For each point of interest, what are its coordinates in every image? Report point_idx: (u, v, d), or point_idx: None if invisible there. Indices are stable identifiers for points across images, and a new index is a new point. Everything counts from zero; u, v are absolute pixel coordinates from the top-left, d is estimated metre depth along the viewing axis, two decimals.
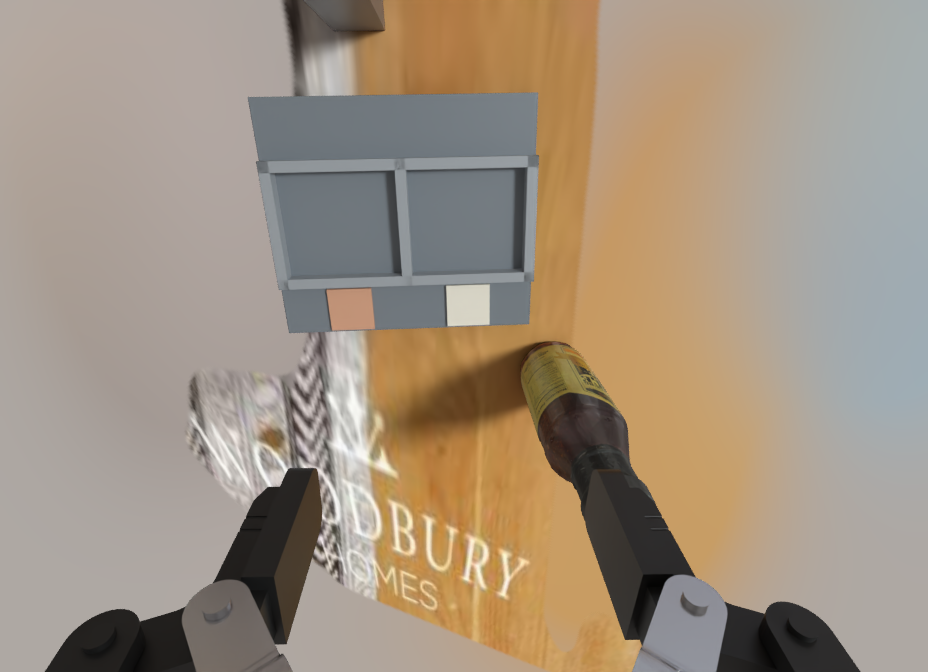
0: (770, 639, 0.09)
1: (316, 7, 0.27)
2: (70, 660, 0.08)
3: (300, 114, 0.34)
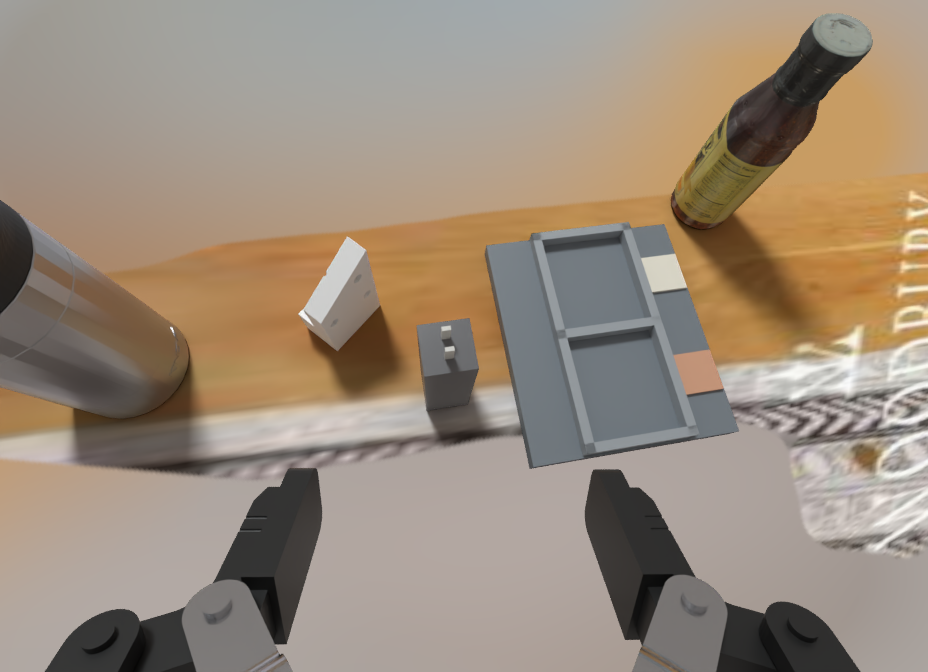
0: (770, 639, 0.09)
1: None
2: (70, 660, 0.08)
3: (537, 421, 0.40)
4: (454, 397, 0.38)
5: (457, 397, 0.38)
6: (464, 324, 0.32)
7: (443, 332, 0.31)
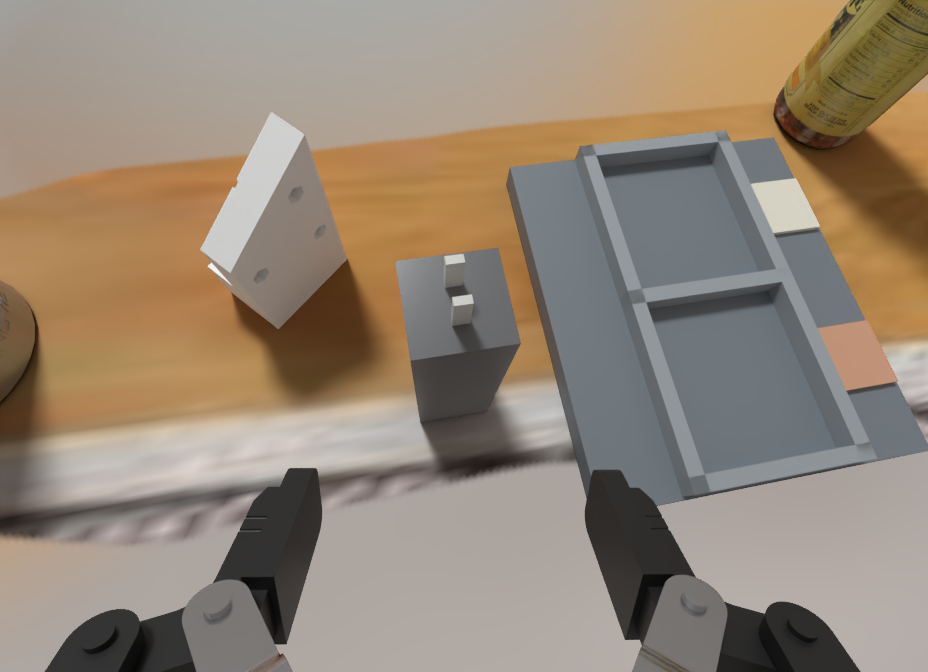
0: (770, 639, 0.09)
1: None
2: (70, 660, 0.08)
3: (604, 439, 0.24)
4: (466, 401, 0.22)
5: (471, 400, 0.23)
6: (489, 259, 0.17)
7: (449, 267, 0.15)
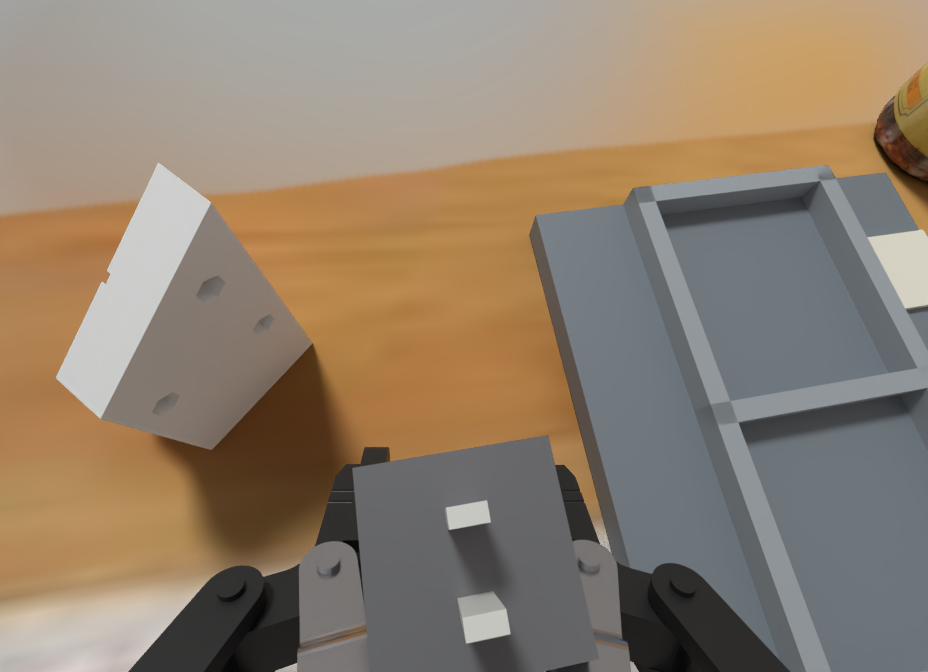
0: (660, 605, 0.10)
1: None
2: (207, 601, 0.09)
3: None
4: None
5: None
6: (531, 460, 0.09)
7: None
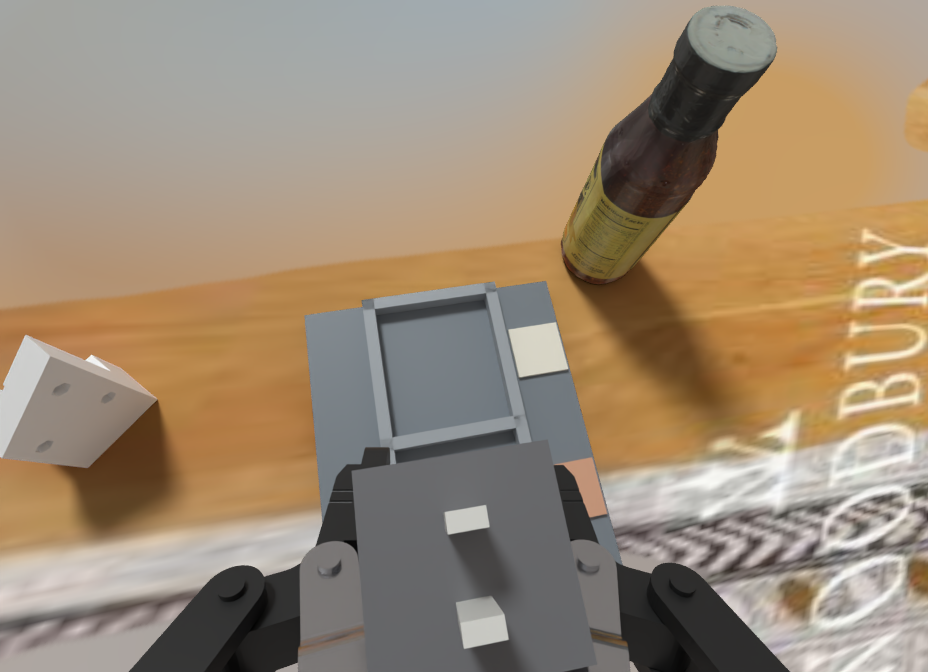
0: (659, 605, 0.10)
1: None
2: (207, 601, 0.09)
3: None
4: None
5: None
6: (531, 465, 0.09)
7: (455, 532, 0.07)
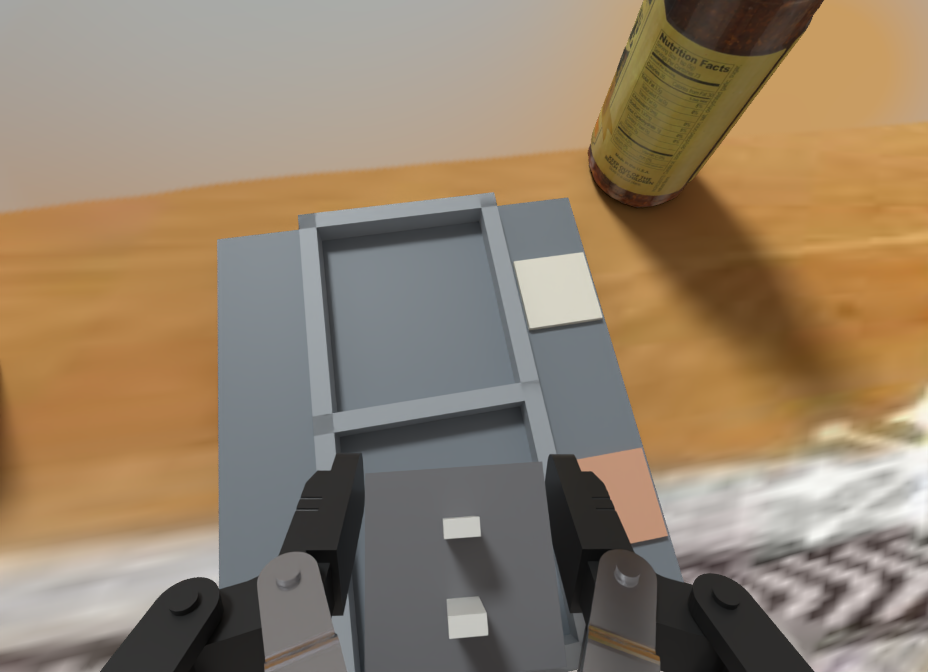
0: (700, 613, 0.10)
1: None
2: (159, 618, 0.09)
3: None
4: None
5: None
6: (524, 483, 0.10)
7: (451, 538, 0.08)
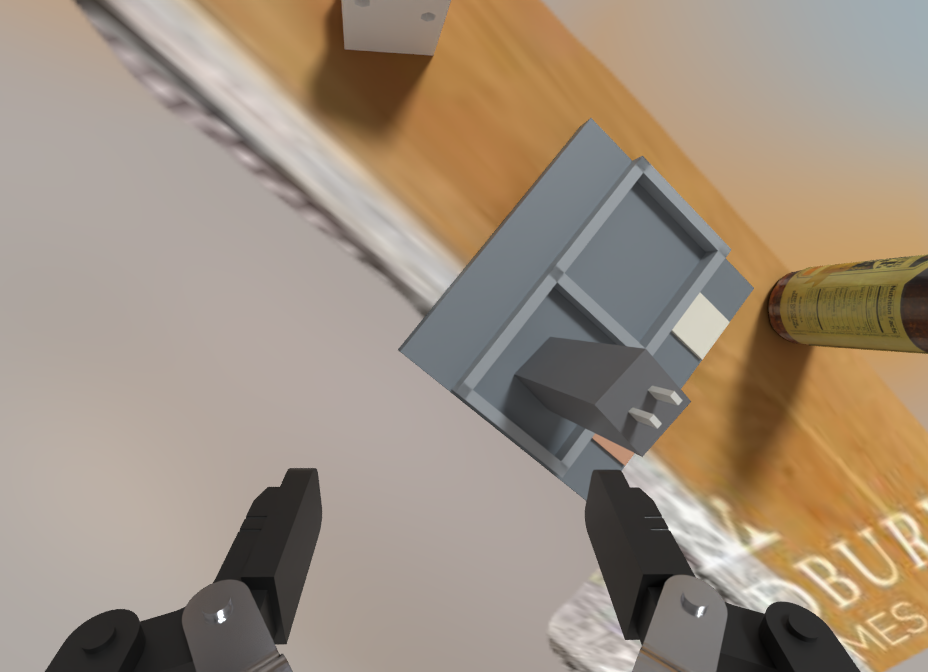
0: (770, 639, 0.09)
1: None
2: (70, 660, 0.08)
3: (447, 321, 0.31)
4: (557, 406, 0.30)
5: (558, 409, 0.30)
6: (680, 401, 0.23)
7: (668, 397, 0.21)
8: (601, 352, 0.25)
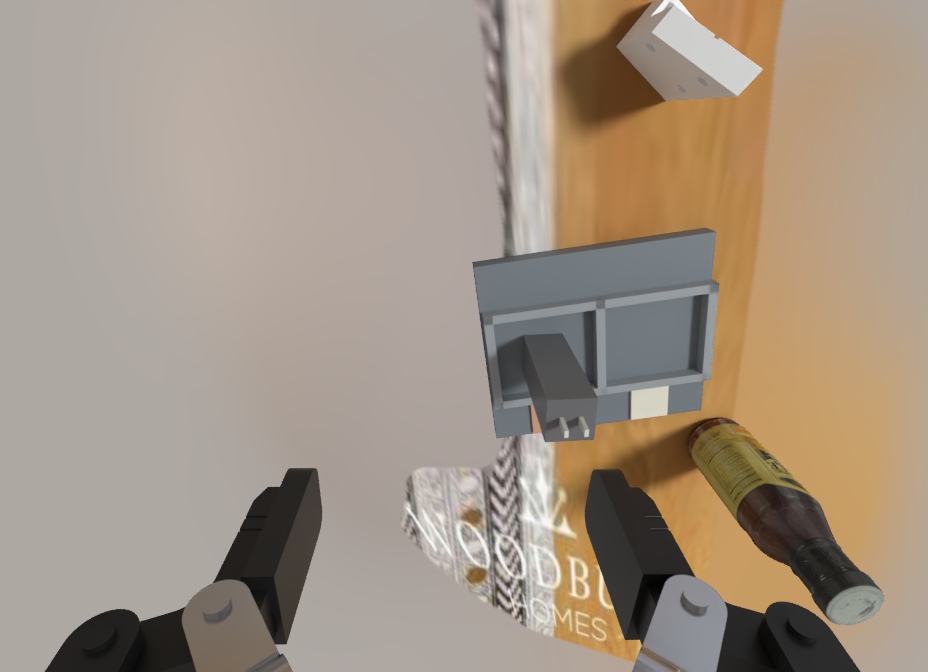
0: (770, 639, 0.09)
1: None
2: (70, 660, 0.08)
3: (515, 274, 0.41)
4: (528, 375, 0.41)
5: (528, 377, 0.41)
6: (588, 435, 0.35)
7: (583, 429, 0.33)
8: (577, 375, 0.37)
